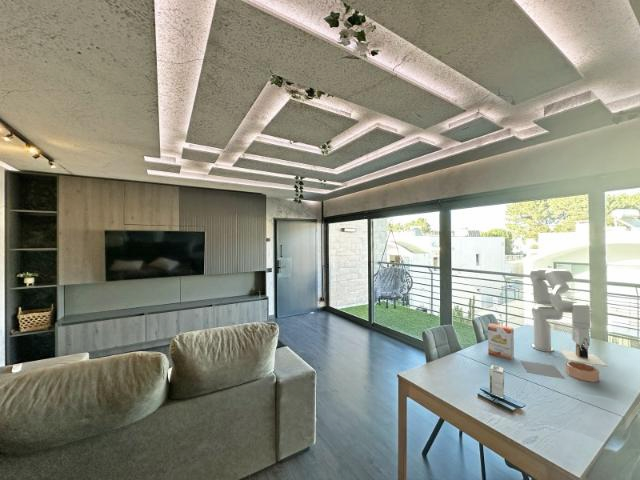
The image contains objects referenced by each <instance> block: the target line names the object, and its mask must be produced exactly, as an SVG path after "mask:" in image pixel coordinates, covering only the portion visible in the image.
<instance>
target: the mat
mask: <svg viewBox="0 0 640 480" xmlns="http://www.w3.org/2000/svg"><path fill="white" fill-rule="evenodd" d="M519 362H520V363H521V366H522V367H523V368H524V370H525V372H526V373H527V374H531V375H532V374H534V375H540V376H544V377H550V378H556V379H561V380H566V378H565V377H564V375H563V374H562V373H561V372H560V371H559V369H558V368H557V367H556V366H555V365H551V364H546V363H539V362H535V361H534V362H532V361H527V360H521V359H520V360H519Z"/></svg>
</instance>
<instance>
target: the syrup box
mask: <svg viewBox="0 0 640 480" xmlns="http://www.w3.org/2000/svg"><path fill="white" fill-rule="evenodd" d="M490 393H491V394H494V395H497V396H499V397H503V398H504V395H505V368H504V367H502V366H498V365H495V364H492V365H490V368H489V394H490Z"/></svg>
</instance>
